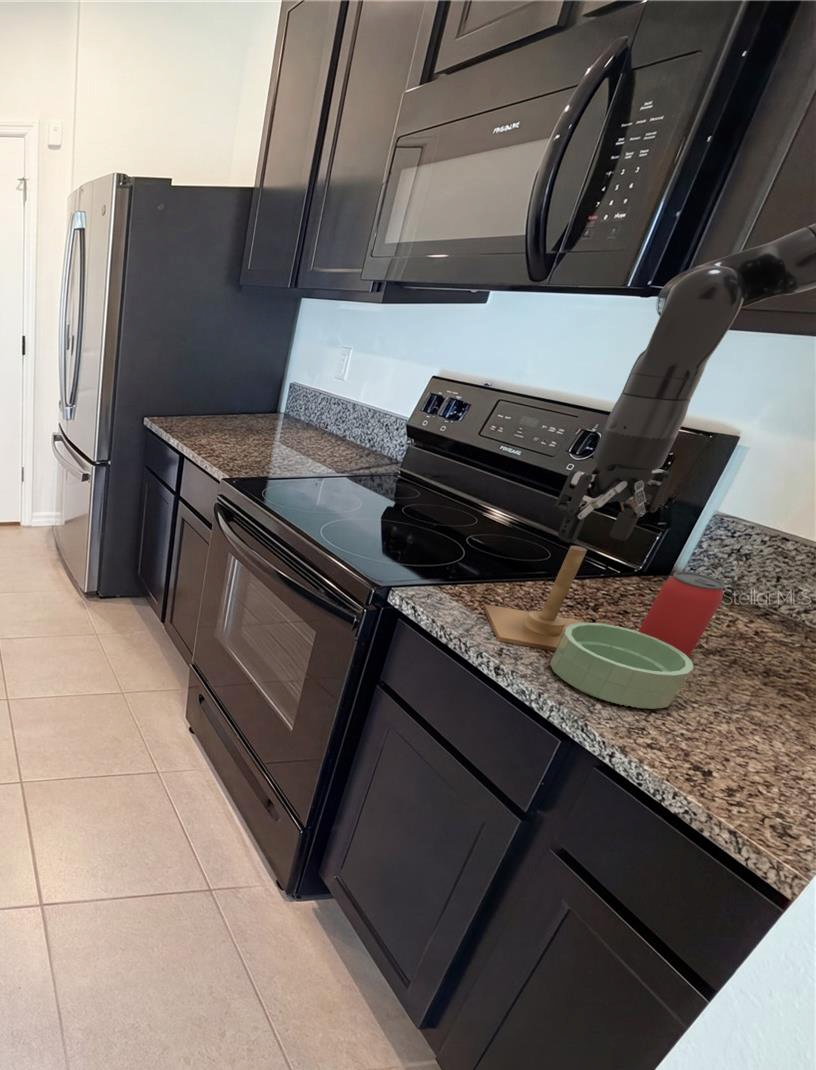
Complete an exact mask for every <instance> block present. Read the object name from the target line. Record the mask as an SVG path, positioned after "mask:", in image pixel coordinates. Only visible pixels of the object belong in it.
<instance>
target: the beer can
mask: <svg viewBox="0 0 816 1070" xmlns="http://www.w3.org/2000/svg"><path fill="white" fill-rule="evenodd" d="M725 586H726V585H725V584H724V582H722V581H720V580H719V579H717V578H714V577H712V576H708V575H705V574H702V573H697V572H691V571H676V572H673V574H672V576H671V577H669V578H668V579H667V580H666V581H665V582H664V583H662V586H661V588H660V589H659V592H658V593H657V594H656V597H655V599H654V600H653V602H652V604H651V606H650V607H649V610H648V611H647V613H646V615H645V617H644V620H643V621H642V624H641V625H640V627H639V629H638V632H641V633H643V634H646V635H649V636H652V637H655V638H657V639H659V640H661V641H663V642H665V643H667V644H670V645H672V646H673V647H675V648H677V649H678V650H680V651H681V652H683V653H684V654H686V656H687V657H689V656H691V655H692V653H693V652H694V649H696V646H697V645H698V644H699V641H700V639H701V638H702V636H703V634H704V633H705V631H706V629H707V627H708V626H709V624H710V622H711V620H712V619H713V617H714V616H715V614H716V612H717V610H718V609H719V607H720V605H721V604H722V601H723V597H724V589H725Z"/></svg>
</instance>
